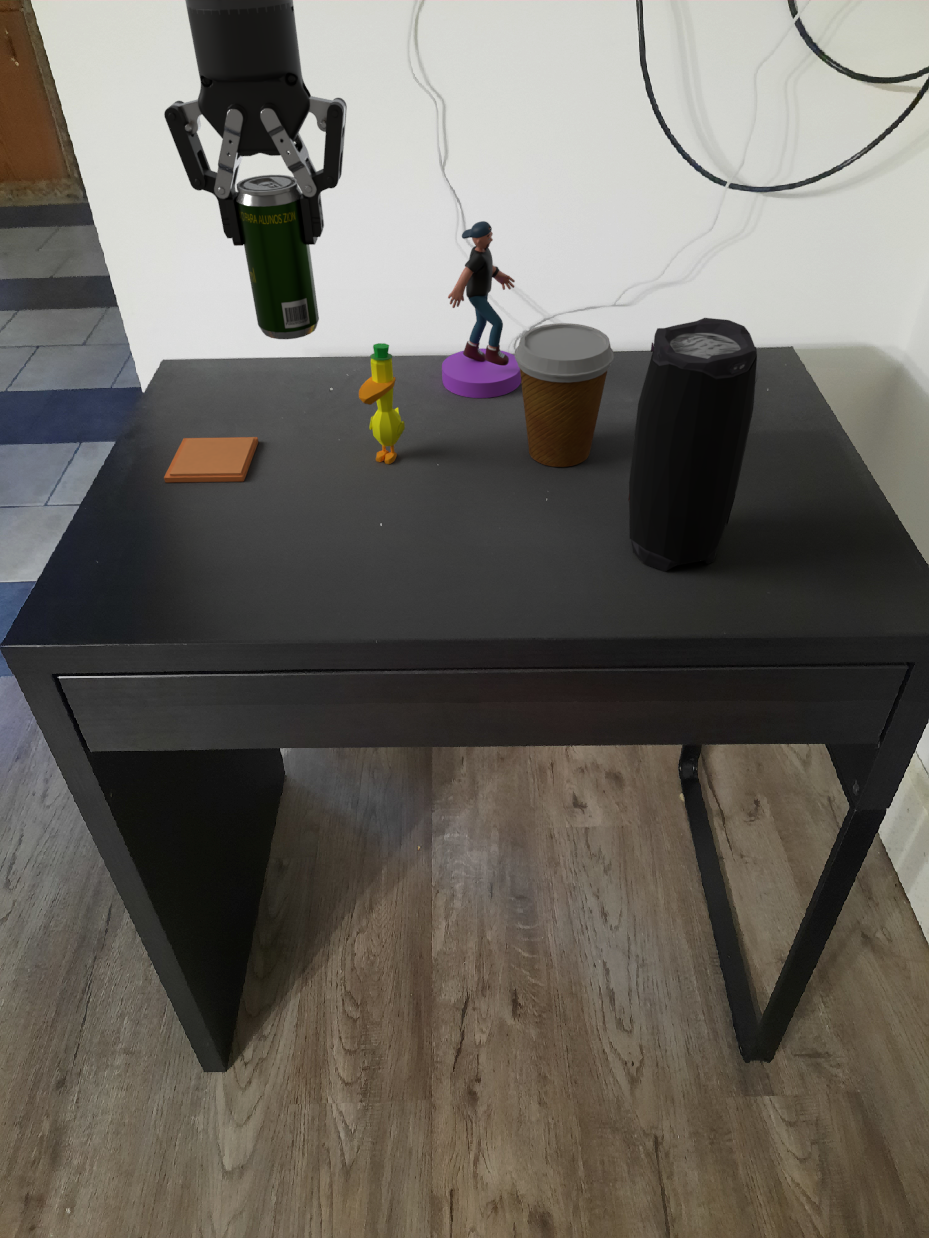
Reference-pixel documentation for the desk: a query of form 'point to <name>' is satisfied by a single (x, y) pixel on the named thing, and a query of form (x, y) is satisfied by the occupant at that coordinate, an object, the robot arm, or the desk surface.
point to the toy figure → (382, 402)
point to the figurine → (481, 328)
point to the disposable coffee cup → (562, 389)
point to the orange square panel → (212, 460)
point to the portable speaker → (690, 440)
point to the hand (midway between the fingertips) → (276, 241)
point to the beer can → (277, 256)
